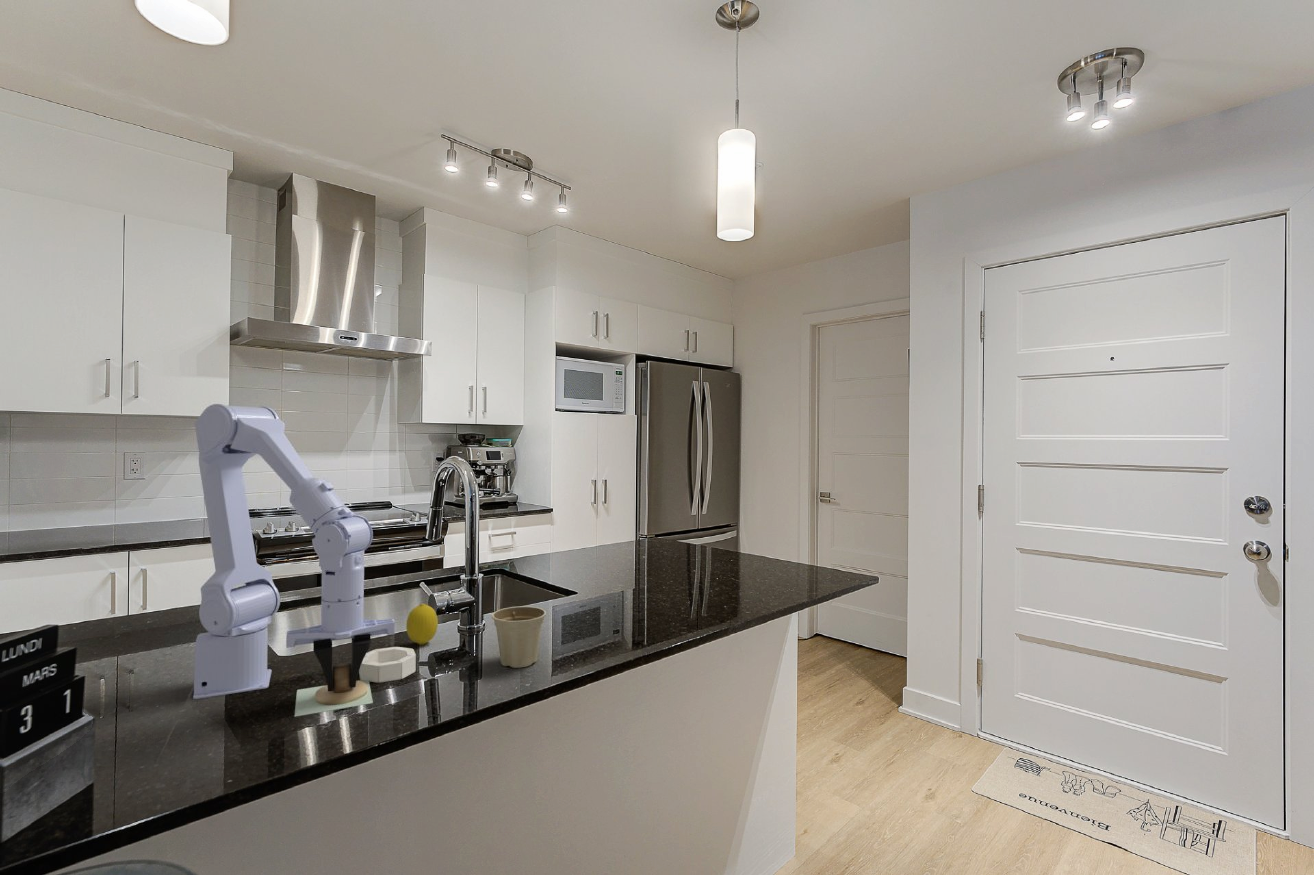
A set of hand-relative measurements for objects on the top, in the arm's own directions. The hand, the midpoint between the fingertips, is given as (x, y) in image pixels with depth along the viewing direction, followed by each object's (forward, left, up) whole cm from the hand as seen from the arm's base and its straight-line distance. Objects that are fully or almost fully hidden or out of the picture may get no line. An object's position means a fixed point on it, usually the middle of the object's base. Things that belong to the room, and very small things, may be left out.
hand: (341, 687), depth 95 cm
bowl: (+7, +7, -2) cm, 10 cm away
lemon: (+14, +19, -2) cm, 24 cm away
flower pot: (+28, +3, -2) cm, 28 cm away
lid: (0, 0, -1) cm, 1 cm away
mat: (-1, 0, -2) cm, 2 cm away
